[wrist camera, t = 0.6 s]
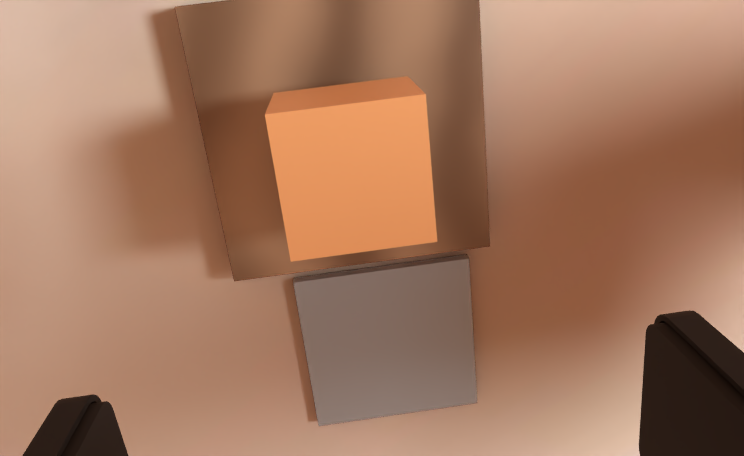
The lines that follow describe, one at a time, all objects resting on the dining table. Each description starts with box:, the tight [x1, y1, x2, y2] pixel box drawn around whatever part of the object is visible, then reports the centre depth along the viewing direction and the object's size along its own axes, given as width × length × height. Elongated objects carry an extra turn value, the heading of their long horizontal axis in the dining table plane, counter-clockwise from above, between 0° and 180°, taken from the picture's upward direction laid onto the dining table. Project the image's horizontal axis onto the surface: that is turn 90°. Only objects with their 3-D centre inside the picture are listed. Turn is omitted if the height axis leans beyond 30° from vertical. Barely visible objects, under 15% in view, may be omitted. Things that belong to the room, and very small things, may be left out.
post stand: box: [175, 0, 490, 281], centre depth 28 cm, size 14×14×8 cm
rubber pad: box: [293, 254, 477, 426], centre depth 37 cm, size 10×10×1 cm
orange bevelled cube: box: [265, 76, 437, 262], centre depth 26 cm, size 6×6×5 cm
